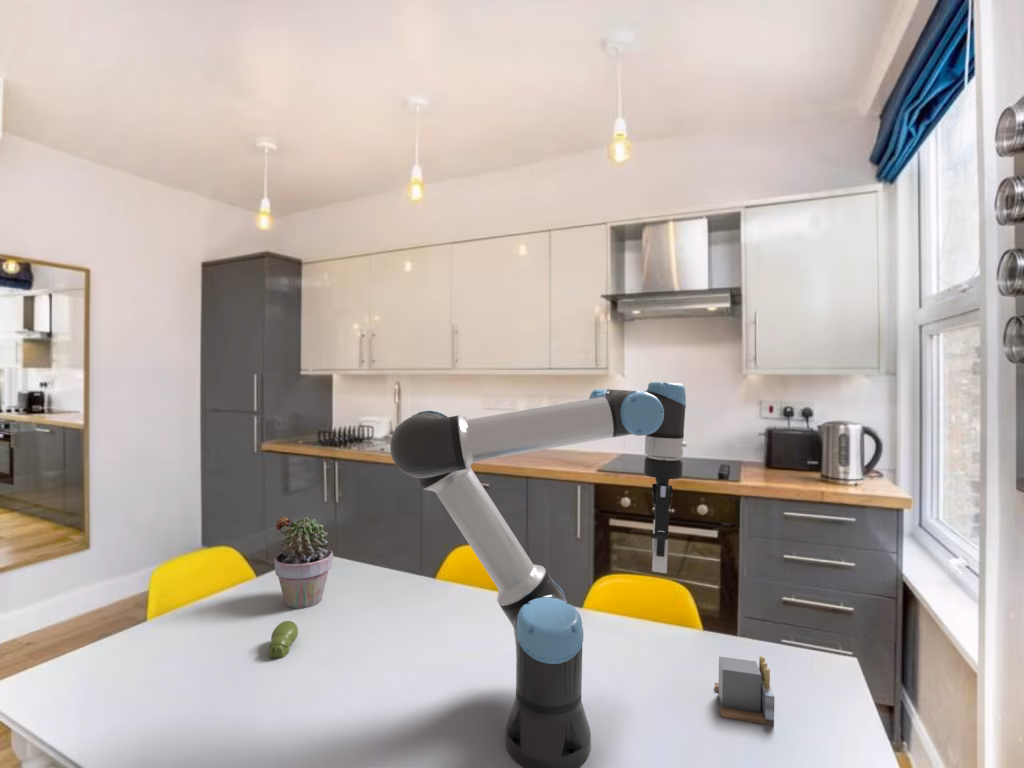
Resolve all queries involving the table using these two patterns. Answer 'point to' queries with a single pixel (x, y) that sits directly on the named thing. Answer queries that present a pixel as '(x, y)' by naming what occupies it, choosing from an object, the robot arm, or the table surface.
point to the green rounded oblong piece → (282, 639)
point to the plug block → (739, 684)
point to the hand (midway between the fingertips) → (658, 560)
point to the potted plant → (303, 562)
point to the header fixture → (766, 701)
